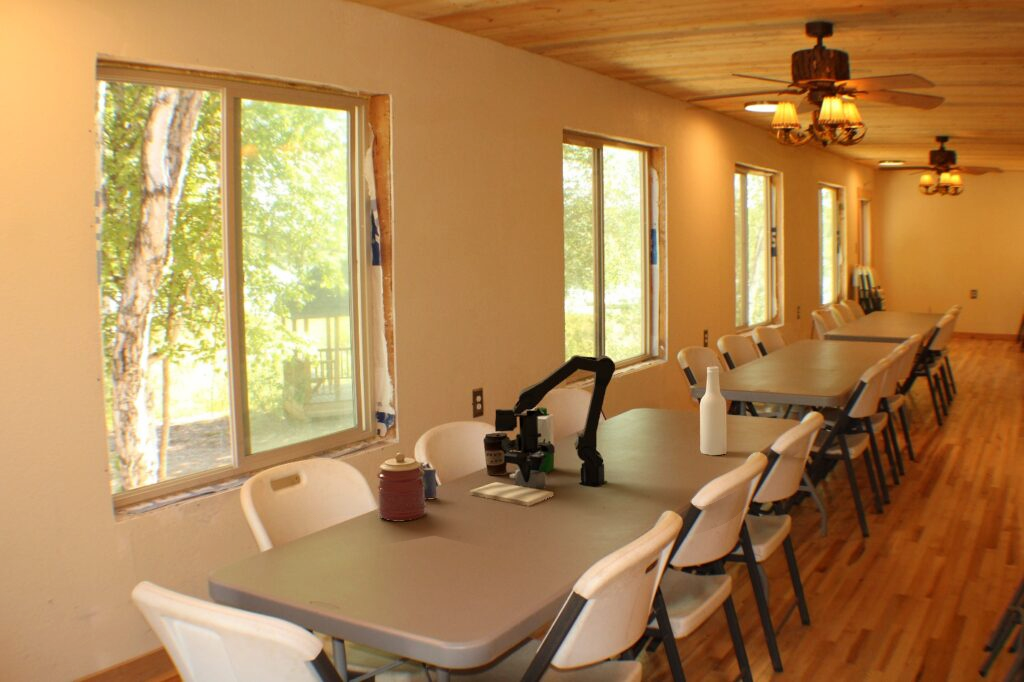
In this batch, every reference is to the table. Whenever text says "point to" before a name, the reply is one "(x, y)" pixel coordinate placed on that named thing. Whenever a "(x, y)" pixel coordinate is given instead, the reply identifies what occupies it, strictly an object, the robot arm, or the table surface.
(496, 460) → the coffee cup
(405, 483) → the canister
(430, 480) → the flask
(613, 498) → the table surface
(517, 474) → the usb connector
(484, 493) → the birch board
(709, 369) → the alcohol
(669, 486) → the table surface
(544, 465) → the milk carton
